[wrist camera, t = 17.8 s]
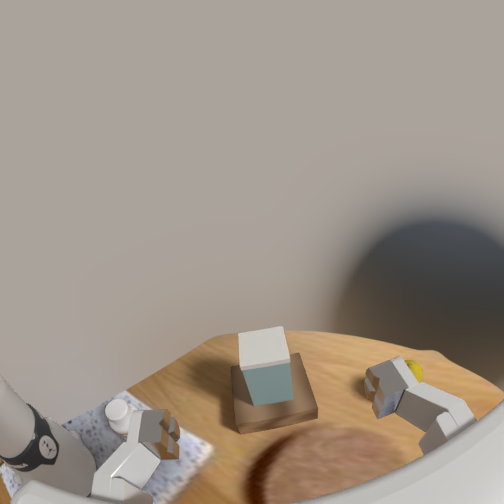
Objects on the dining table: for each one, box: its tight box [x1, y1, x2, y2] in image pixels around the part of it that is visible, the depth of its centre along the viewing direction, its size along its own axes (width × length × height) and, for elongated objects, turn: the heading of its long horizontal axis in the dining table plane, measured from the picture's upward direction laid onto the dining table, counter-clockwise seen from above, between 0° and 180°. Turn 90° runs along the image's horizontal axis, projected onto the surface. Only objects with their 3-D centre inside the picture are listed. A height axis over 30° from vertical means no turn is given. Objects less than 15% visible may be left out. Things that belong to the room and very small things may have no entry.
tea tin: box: [238, 326, 294, 406], centre depth 37 cm, size 6×6×10 cm
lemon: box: [404, 360, 423, 383], centre depth 33 cm, size 6×6×8 cm
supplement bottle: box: [105, 399, 139, 441], centre depth 32 cm, size 6×6×10 cm
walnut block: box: [231, 353, 318, 434], centre depth 40 cm, size 12×12×4 cm
